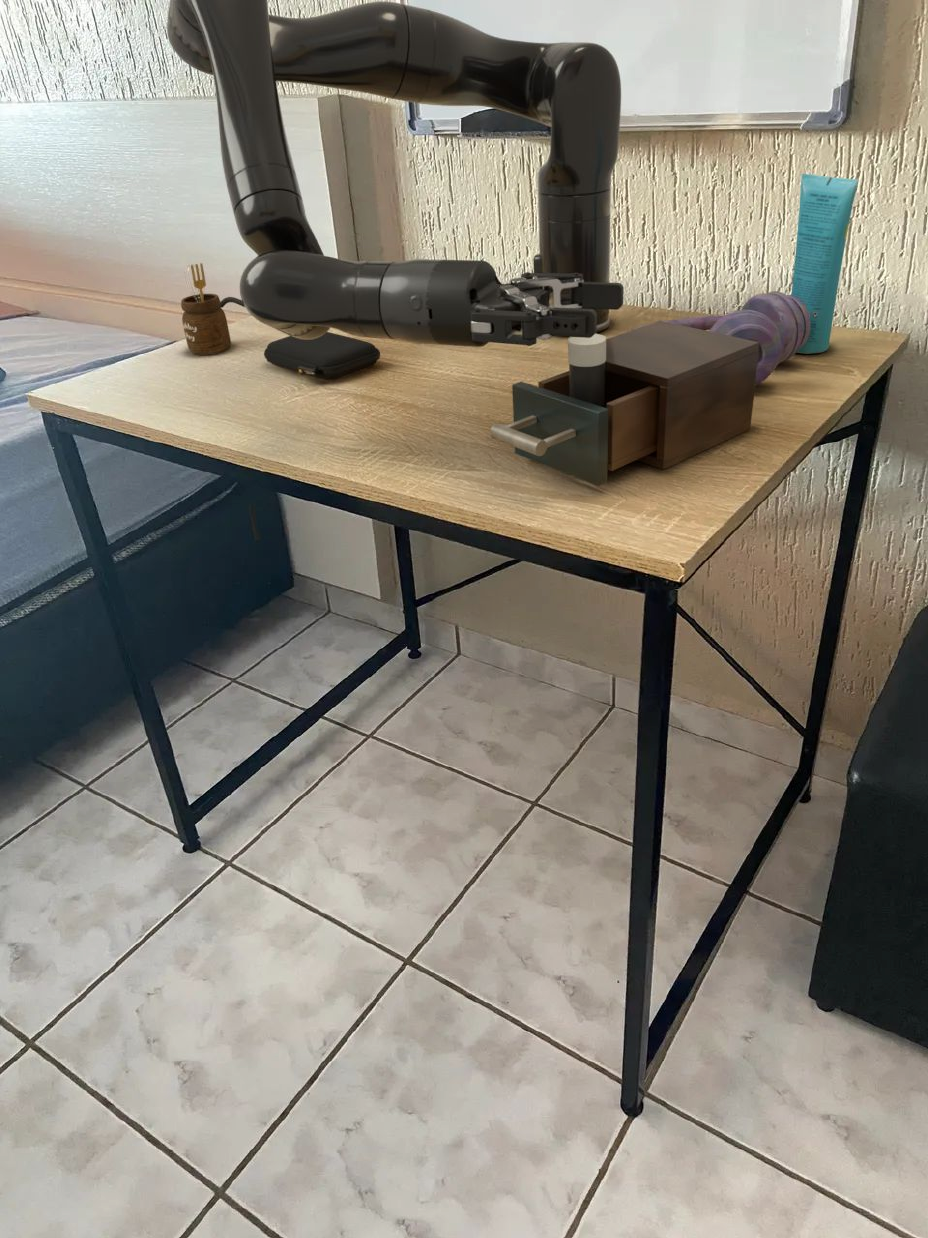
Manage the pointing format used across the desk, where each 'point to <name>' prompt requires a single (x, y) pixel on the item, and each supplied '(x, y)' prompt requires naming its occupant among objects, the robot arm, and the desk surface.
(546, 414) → the drawer
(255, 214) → the robot arm
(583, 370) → the bottle
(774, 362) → the headphones
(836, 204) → the tube
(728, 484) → the desk surface
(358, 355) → the carrying case
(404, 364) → the desk surface
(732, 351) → the cabinet
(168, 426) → the desk surface
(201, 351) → the utensil holder
